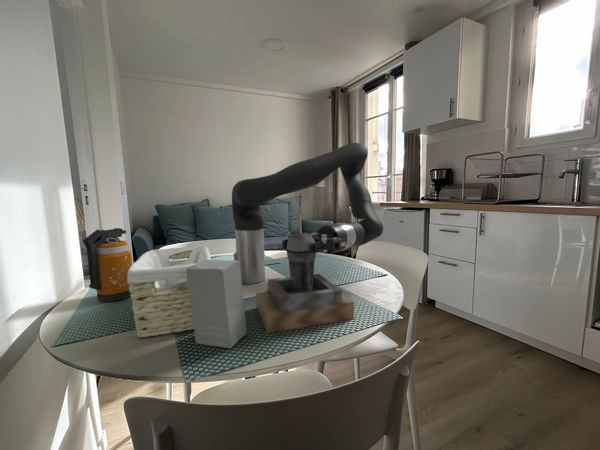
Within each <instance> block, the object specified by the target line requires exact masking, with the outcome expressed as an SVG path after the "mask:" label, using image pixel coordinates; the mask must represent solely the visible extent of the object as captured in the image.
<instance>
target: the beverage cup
mask: <svg viewBox="0 0 600 450" xmlns="http://www.w3.org/2000/svg"><path fill="white" fill-rule="evenodd" d="M298 217H299V218H298V219H299V220H298V221H299V223H298V224H299V232H295V233H294V234H292V235H290V236H291V237H290V239H289V238H288V239H289V240H288V243H287V248H286V249H285V251H286V255H287V259H288V265H289V274H290V275H289V277H291V285H292V292H293V294H295V293H302V292H310V291H312V289H313V275H314V274H315V273H314V272H315V259H316V256H317V255H316V254H317V253H314V254H312V253H310V252H309V245H310V244H311V243H315V241H314V239H313V238H312V237H311V236H310V235H309V234H310V233H307V232H303V229H302V228H303V226H302V225H303V224H302V223H303V222H302V221H303V220H302V213H299V214H298Z"/></svg>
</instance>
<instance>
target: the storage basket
mask: <svg viewBox="0 0 600 450" xmlns="http://www.w3.org/2000/svg"><path fill="white" fill-rule="evenodd" d="M181 259H187V260H185V261H183V262H180V263H177V264H175V265H172V264H171V260H181ZM204 260H212V259H211V253H210V250H209V247H208V246H207V245H200V246H198V245H197V246H186V247H185V246H184V247H183V246H182V247H173V248H171V247H170V248H164V249H163V248H161V249H151V250H149V251H146V252H144V253H143V254H142V255H141V256H139V258H138V259H137V260H136V261H134V262H132V265H131V267H130V269H129V270H128V276H127V279H128V281H127V283H128V284H129V285H130V286H129V292H130V293H131V295H130V296H129V297H130V299H131V303H132V307H131V308H132V313H133V319H134V323H135V331H136V333H135V336H137V337H138V338H147V337H148V338H149V337H151V336H153V337H156V336H160V335H169V334H172V333H182V332H185V331H192V330H193V331H194V325H193V317H192V309H191V301H190V293H189V286H188V278H187V271H186V268H188V267H191V266H193V265H195V264H198V263H200V262H202V261H204Z"/></svg>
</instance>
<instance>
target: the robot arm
mask: <svg viewBox="0 0 600 450" xmlns="http://www.w3.org/2000/svg"><path fill="white" fill-rule="evenodd" d="M368 153H369V151H368V147H366V145H364V144H363V143H360V142H352V143H351V142H350V143H346V144H345V145H342V146H340V147H339V148H335V149H333V150H331V151H329V152H326V153H323V154H320V155H317V156H315V157H312V158H308V159H304V160H301V161H299V162H296V163H293V164H291V165H288V166H287V167H285V168H283V169H282V170H279V171H278V172H275V173H273V174H268V175H266V176H265V175H264V176H261V177H256V178H255V177H254V178H247V179H242V180H239V181H238V182H236V183H235V184H234V186H233V187H232V190H231V205H232V206H231V207H232V208H231V209H232V219H233V224H234V233H235V234H234V235H235V237H234V238H235V252H234V253H233V260H239V262H240V271H241V281H242V284H246V285H248V284H249V285H251V284H258V283H262V282H264V281H265V280H266V264H265V262H266V260H265V234H264V233H265V232H264V230H265V229H264V220H263V218H262V216H261V206H262V205H263V204H265V203H268V202H270V201H273V200H274V199H276V198H278V197H281V196H284V195H287V194H292V193H296V192H299V191H302V190H303V191H304V190H305V189H309V188H311V187H313V186H316V185H318V184H320V183H321V182H323V181H324V180H326V178H328V177H329V176H330V175H331V174H332V173H334V172H335V171H336V170H338V169H340V173H341V175H342V178H343V179H344V182H345V183H344V184H345V185H346V189H347V191H348V197H349V204H350V210H351V214H352V216H353V218H355V219H357V220H360V221H358V222H355V221H350V222H349V221H348V222H337V223H332V224H326V225H322V226H320V227H319V228H318V229H317V231H316V232H311V233H308V234H309V235H310V236H311V237H312V238H313V239H314V241H315V243H311V244H310V245H309V252H310V253H312V254H314V253H316V254H317V253H321V252H322V253H323V254H328V255H330V254H334V253H338V252H342V251H344V250H347V249H348V248H352V247H354V246H356V247H359V246H360V247H361V246H363V245H365V244H368V243H370V242H372V241H373V240H375V239H377V238H379V237H380V236H382V234H383V232H384V225H383V223H382V221H381V220H380V217H379V216H378V215H377V213H376V212H375V209H374V206H373V202H372V198H371V193H370V191H369V190H368V187H366V186H365V185H364V183H363V180H362V171H363V169H364V166H365V164H366V161H367V159H368V155H369V154H368ZM291 236H292V235H288V238H285V239H282V240H281V247H282V249H283V250H286V248H287V243H288V240H289V239H290V237H291Z"/></svg>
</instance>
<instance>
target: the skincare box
mask: <svg viewBox="0 0 600 450" xmlns="http://www.w3.org/2000/svg"><path fill="white" fill-rule="evenodd" d="M186 271H187V278H188V286H189V293H190V301H191V309H192V317H193V325H194V329H193V332H194V339H195V344H197V345H205V346H210V347H211V346H212V347H219V348H225V349H231V348H233V346H235V345H236V344H237V343H238V341H240V340H241V339H242V338H243V337H244V336H246V334H247V332H248V331H247V320H246V319H247V318H246V311H245V310H246V309H245V302H244V294H243V283H242V281H241V271H240V262H239V260H234V259H233V260H232V259H231V260H229V259H227V260H225V259H211V260H204V261H202V262H200V263H198V264H195V265H193V266H191V267H188V268H186Z"/></svg>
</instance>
